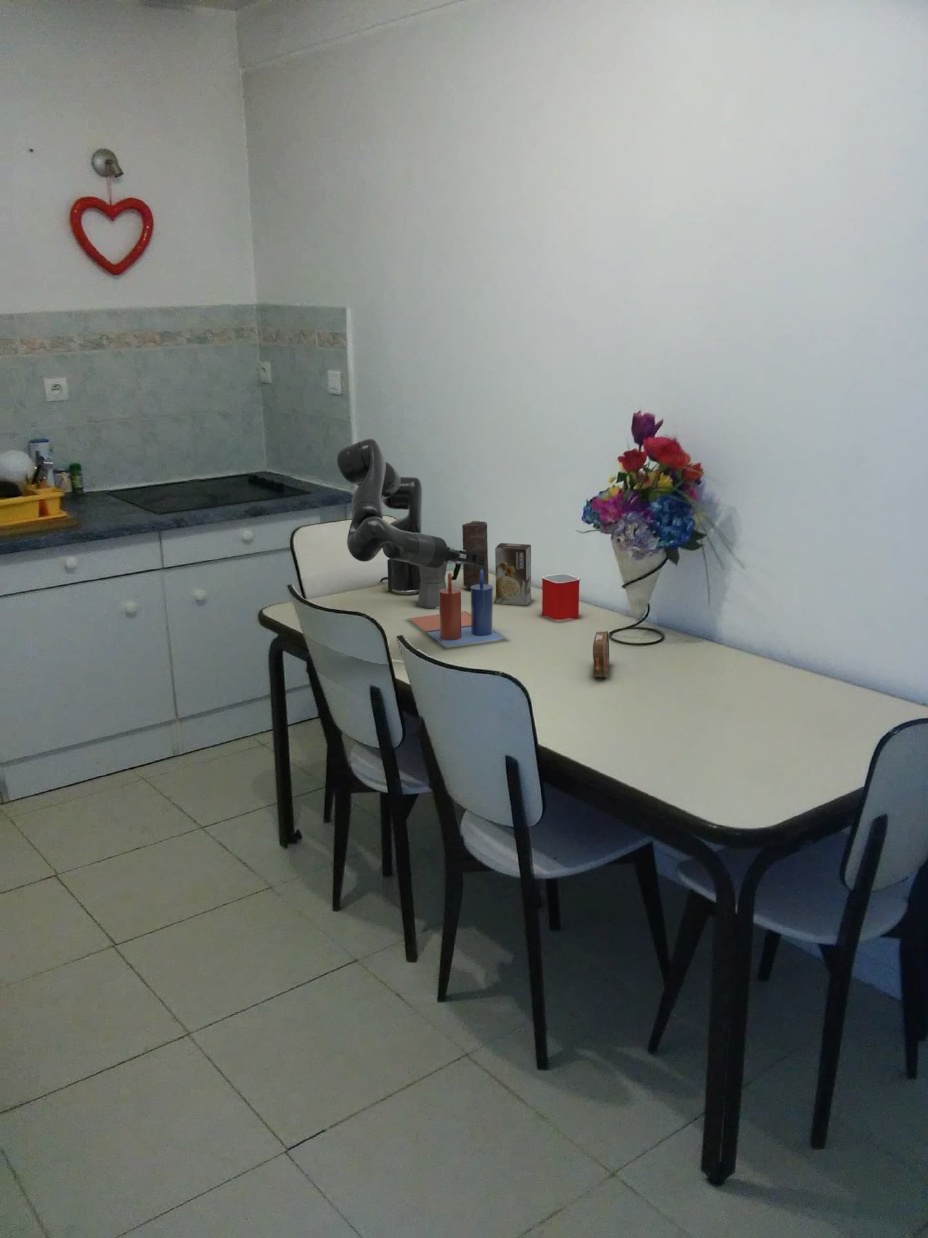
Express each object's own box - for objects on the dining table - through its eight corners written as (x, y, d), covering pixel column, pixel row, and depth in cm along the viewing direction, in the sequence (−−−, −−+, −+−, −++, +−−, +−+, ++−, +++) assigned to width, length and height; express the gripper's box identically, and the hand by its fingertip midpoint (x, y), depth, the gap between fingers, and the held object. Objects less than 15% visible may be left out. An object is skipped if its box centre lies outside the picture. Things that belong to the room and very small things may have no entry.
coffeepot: (404, 606, 295) (403, 542, 289) (417, 597, 303) (416, 535, 298) (457, 611, 290) (456, 546, 284) (468, 602, 298) (468, 539, 293)
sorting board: (445, 649, 259) (445, 646, 259) (409, 620, 282) (408, 617, 282) (505, 640, 265) (505, 637, 265) (464, 613, 288) (464, 610, 288)
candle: (470, 593, 307) (469, 525, 301) (458, 587, 313) (457, 520, 307) (493, 590, 310) (493, 522, 305) (480, 584, 317) (480, 518, 311)
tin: (605, 683, 235) (606, 646, 233) (590, 682, 236) (591, 646, 234) (609, 661, 250) (611, 626, 247) (596, 660, 250) (597, 625, 248)
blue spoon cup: (467, 634, 268) (467, 571, 263) (475, 628, 273) (475, 566, 268) (487, 637, 266) (487, 573, 261) (495, 630, 271) (495, 568, 266)
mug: (582, 617, 283) (583, 579, 280) (557, 622, 279) (557, 583, 276) (555, 607, 293) (555, 569, 290) (530, 612, 288) (530, 573, 285)
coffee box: (532, 599, 300) (532, 544, 295) (526, 606, 294) (527, 549, 289) (500, 597, 302) (500, 542, 298) (494, 603, 297) (494, 547, 292)
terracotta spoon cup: (436, 639, 265) (435, 574, 260) (445, 632, 270) (444, 569, 265) (456, 641, 263) (455, 576, 258) (464, 635, 268) (464, 571, 263)
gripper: (446, 535, 244) (494, 546, 255) (405, 532, 254) (453, 543, 265) (441, 568, 244) (490, 577, 255) (400, 564, 254) (449, 573, 265)
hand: (471, 560), depth 260 cm, fingers open, 8 cm apart
